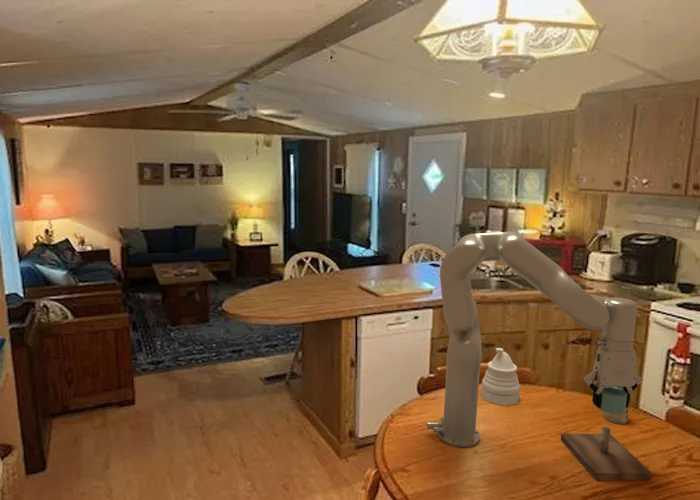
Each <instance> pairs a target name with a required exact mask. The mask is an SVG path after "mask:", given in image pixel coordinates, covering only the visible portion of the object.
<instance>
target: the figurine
mask: <svg viewBox="0 0 700 500" xmlns="http://www.w3.org/2000/svg"><path fill="white" fill-rule="evenodd" d="M618 388H621V389H623V387H618ZM603 418H604V419H605V420H606V421H609V422H610V423H613V424H616V425H617V424H618V425H624V424H628V421H629V407H628V408H626V410H625V411H624V413H623V414H611V413H608V412H604V411H603Z"/></svg>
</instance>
